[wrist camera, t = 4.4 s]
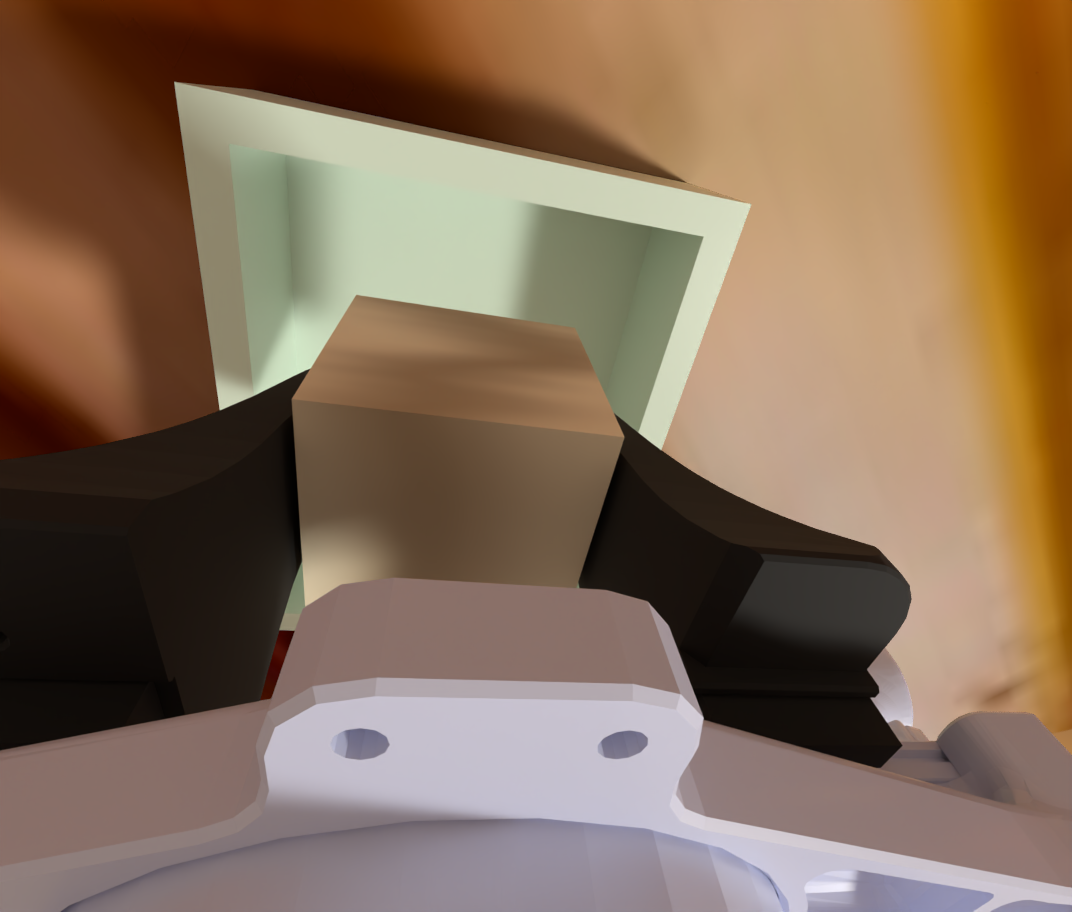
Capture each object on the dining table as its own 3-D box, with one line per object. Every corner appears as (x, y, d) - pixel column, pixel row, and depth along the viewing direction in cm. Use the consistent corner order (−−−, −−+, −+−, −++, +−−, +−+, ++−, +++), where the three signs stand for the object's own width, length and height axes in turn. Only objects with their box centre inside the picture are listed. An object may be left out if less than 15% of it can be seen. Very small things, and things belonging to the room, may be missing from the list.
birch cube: (575, 327, 13) (624, 437, 8) (536, 494, 15) (559, 640, 11) (355, 295, 12) (291, 399, 8) (354, 477, 14) (306, 630, 10)
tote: (688, 183, 18) (751, 204, 14) (572, 562, 28) (590, 642, 24) (253, 89, 16) (173, 82, 12) (287, 542, 25) (250, 628, 21)
